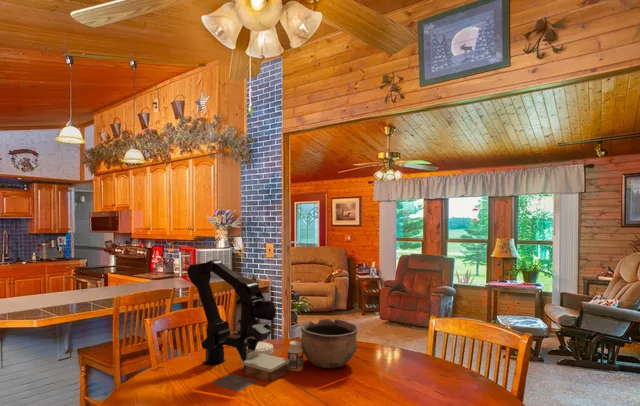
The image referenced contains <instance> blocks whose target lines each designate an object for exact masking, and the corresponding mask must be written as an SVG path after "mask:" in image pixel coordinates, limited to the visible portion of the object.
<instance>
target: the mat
mask: <svg viewBox="0 0 640 406" xmlns="http://www.w3.org/2000/svg"><path fill="white" fill-rule="evenodd" d="M257 382H258V380H255V379H251V378H248V377H244V376H240V375H237V374H233V373H229V374H227V375H225V376H223V377H221V378H219V379H217V380H215V381H214V380H213V381H212V382H210V384H211V385H215V386H218V387H221V388H224V389H227V390H232V391H235V392H239V391H242V390H243V389H245V388H247V387H249V386H251V385H253V384H255V383H257Z"/></svg>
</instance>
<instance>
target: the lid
mask: <svg viewBox="0 0 640 406" xmlns="http://www.w3.org/2000/svg"><path fill="white" fill-rule="evenodd" d="M239 360H240V361H241V366H244V365H245V366H249V367H253V368H257V369H260V370H264V371H268V372H272V371H274V370H276V369H278V368H280V367H282V366H284V365H286V364H288V363H290V360H289V359H288V358H283V357H281V356H275V355H272V354H270V355H267V354H262V353H261V354H258V355H256V356H255V350H251V349H247V350H246V360H245V361H242V359H241V357H240V356H239Z"/></svg>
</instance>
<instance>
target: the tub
mask: <svg viewBox="0 0 640 406" xmlns="http://www.w3.org/2000/svg"><path fill="white" fill-rule="evenodd" d="M288 370H289V369H288V364H286V365H284V366H282V367H280V368H278V369H276V370H274V371H272V372H268V371H264V370H260V369H257V368H253V367H249V366H245V365H243V375H244V376H248V377H252V378H256V379H260V380H263V381H265V382H266V381H267V382H269V383H270V382H272V381H275V380H277V379H278V378H280V377H282V376H284V375H286V374H287V373H288V372H289V371H288Z"/></svg>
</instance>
